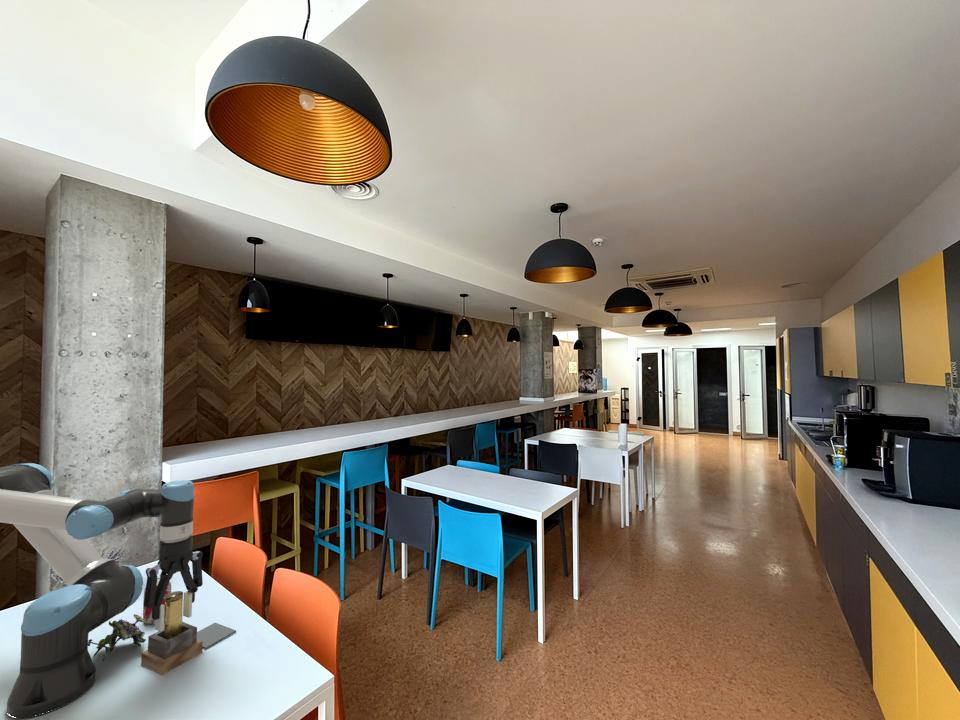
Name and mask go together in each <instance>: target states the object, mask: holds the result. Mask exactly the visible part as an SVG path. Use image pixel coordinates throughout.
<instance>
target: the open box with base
mask: <svg viewBox="0 0 960 720" xmlns="http://www.w3.org/2000/svg"><path fill="white" fill-rule="evenodd" d="M197 632H198V627H197V626H195V625H192V624H189V623H187V622H185V621H182V633H181V634H179V635H177V636H175V637H173V638H171V639H169V640H167V639H164V630H163V631H161V632H160V631H156V632H154V633H152V634H150V635H148V637H147V638H148V639H147V643H148V644H147V649H146V650H143V651H142V652H140V653H141V654H140V656H141V657H140V665H142V664H143V665H142V666H144V667H146V668H148V669H150V670H152V671H153V672H156V673H158V674H159V675H162V676H164V675H165V674H167V673H168V672H170V671H172V670H174V669H175V668H177V667H179V666H180V665H182V664H183V663H186V662H188V661H189V660H191V659H193V658H194V657H196V656H198V655H199V654H201V653H203V648H202V643H203V641H201V640H199V639H197Z"/></svg>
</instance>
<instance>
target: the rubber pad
mask: <svg viewBox="0 0 960 720" xmlns="http://www.w3.org/2000/svg"><path fill="white" fill-rule="evenodd" d="M235 632H236V633H237V630H236V629H233V628H231V627H228V626H225V625H223V624H220V623H218V622H213V623H212V624H210V625H208V626H206V627H204V628H202V629H200V630H197V639H199V640H201V641H203V643H202V650H205V651H207V650H208V649H210V648H212V647H213V646H215V645H216V644H218V642H219V643H221V641H224V640H225V639H228V638H229V637H231V636H232V635H234V634H235ZM233 633H234V634H233ZM231 634H232V635H231ZM230 635H231V636H230ZM223 639H224V640H223Z"/></svg>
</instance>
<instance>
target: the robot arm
mask: <svg viewBox="0 0 960 720" xmlns="http://www.w3.org/2000/svg"><path fill="white" fill-rule="evenodd" d="M52 480H54V477H53V475H52V473H51V472H50V471H49V470H48V468H46V467H44V466H43V465H41V464H37V463H32V462H31V463H30V462H29V463H14V464H10V465H6V466H1V467H0V523H2V524H10V525H13V526H14V527H15V529H17V530H18V531H19V533H20V534H21V535H22V536H23V537H24V538H25V539H26V540H27V542H28V543H29V544H30V545H31V546H32V547H33V549H35V550H36V551H37V553H38V554H39V555H40V556H41V557H42V559H44V561H46V563H47V564H48V565H49V566H50V567H51V568H52V569H53V571H55V573H56V574H57V575H58V576H59V577H60V578H61V580H63V582H64V583H65V584H66V586H62V587H61V588H59V589H55V590H52V591H49V592H47V593H45V594H44V595H41V596H40V597H38V598H37V599H35V600H33V602H31V603H29V605H28V606H27V608H26V609H25V610H24V614H23V618H22V623H21V625H20V633H21V634H20V635H21V636H20V637H21V638H20V660H19V661H20V662H19V664H20V665H19V673H18V675H17V678H16V680H15V682H14V684H13V687H12V690H11V692H10V694H9V695H8V698H7V701H6V710H7V713H8V714H10V715H11V716H14V717H16V718H22V719H29V717H30V718H33V717H32V716H34V717H36V716H35V715H38V716H40V715H39V714H42V713H45V714H47V713H46V712H48V711H51V710H53V711H55V710H54V709H56V710H58V709H60V708H63V707H64V706H67V705H68V704H70V703H72V702H73V701H75V700H77V699H78V698H80V697H81V696H83V695H84V694H85V693H87V692H88V691H89V690H90V689H91V688H92V687H93V685H94V684H95V683H96V682H95V681H96V679H97V678H96V677H97V669H96V666H95V664H94V661H93V658H92V657H91V654H90V653H89V649H88V648H89V646H88V642H89V633H91V632H92V631H94V630H95V629H97V628H99V627H100V626H102V625H103V624H106V622H109V621H111V620H112V619H113V618H114V617H116V616H117V615H118V616H119V615H120V614H122V613H124V612H125V611H126V610H127V609H128V608H130V607H131V606H132V605H133V604H135V602H137V600H139V597H140V596H141V594H142V592H143V585H144V578H143V575H142V572H141V571H140V569H138V567H136V566H134V565H132V564H130V565H129V564H123V565H120V564H119V563H118V562H117V561H116V560H115V559H114V558H103V557H102V556H101V554H100V553H99V552H98V551H97V550H96V549H95V548H94V546H93V545H91V544H90V542H89V541H88V540H87V539H90V538H95V537H98V536H101V535H102V534H105V533H106V532H109V531H112V530H113V529H117V528H120V527H121V526H125V525H127V524H129V523H132V522H134V521H136V520H139V519H144V518H160V519H159V520H160V521H159V522H160V526H159V527H160V528H159V540H160V542H159V548H158V549H159V552H158V555H159V559H158V562H157V563H156V565H154V566H152V567H148V568H146V569H145V575H146V584H145V588H146V590H145V589H144V590H145V597H144V596H143V600H144V606H145V607H147V608H152V619H154V620H155V624H154V630H156V632H158V631H160V632H161V631H163V630H164V605H162V601H163V598H164V595H165V592H166V590H167V587H168V584H169V581H170V580H171V579H172V578H173V575H174V574H176V573H180V575H181V578H182V579H183V583H184V586H185V588H186V590H185V591H183V609H182V617H186V618H188V619H189V618H191V617H192V612H193V603H195V601H196V593H197V592H198V590H199V587H202V586H203V569H202V568H203V566H202V559H203V555H204V553H203V551H200V550H199V551H198V550H195V551H193V550H192V549H193V544H194V543H193V538H194V537H193V533H194V506H195V505H194V504H195V496H196V495H195V486H194V485H195V484H194V482H193V481H191V480H185V479H184V480H174V481H169V482H166V483H163V485H162V486H161V489H160V488H158V489H157V488H154V489H153V488H150V489H149V488H133V489H126V490H123V491H121V492H120V493H119V494H118V495H116V497H114V498H109V499H106V500H102V501H101V500H93V499H85V498H75V497H67V496H61V495H60V496H59V495H54V492H53V487H54V482H52ZM190 562H191V566H192V567H191V566H190V565H189V563H190ZM190 567H191V568H192V573H191V568H190ZM160 570H161V572H159V571H160ZM159 573H160V575H159ZM158 575H159V578H160V580H159V583H158V586H157V589H156V585H157V578H158ZM170 582H171V581H170ZM67 703H68V704H67ZM59 707H60V708H59ZM57 708H58V709H57ZM51 712H52V711H51ZM7 713H6V714H7ZM48 713H49V712H48ZM42 715H43V714H42ZM16 718H15V719H16Z"/></svg>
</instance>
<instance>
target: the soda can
mask: <svg viewBox="0 0 960 720" xmlns="http://www.w3.org/2000/svg"><path fill="white" fill-rule="evenodd" d="M159 580H160V577H157V585H156V589H157V586H158V583H159ZM145 590H146V587H144V590H143V598H144V597H145ZM169 593H172V583H171V581H169V584H168V587H167V590H166V592H165V595H164V598H163V601H162V605H164V617H165V596H166V595H167V594H169ZM142 606H143V607H142V618H143V619H144V620H145V622H144V624H148V625H155V624H154V623H155V620H154V619H152V608H147V607H145V606H144V599H143V603H142Z"/></svg>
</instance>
